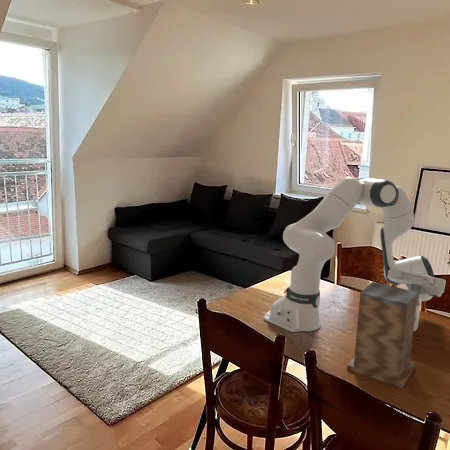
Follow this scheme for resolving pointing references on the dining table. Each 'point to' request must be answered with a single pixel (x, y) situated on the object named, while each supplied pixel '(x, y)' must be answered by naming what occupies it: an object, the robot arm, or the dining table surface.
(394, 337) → the stand
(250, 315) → the dining table surface
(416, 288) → the block
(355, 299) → the dining table surface
